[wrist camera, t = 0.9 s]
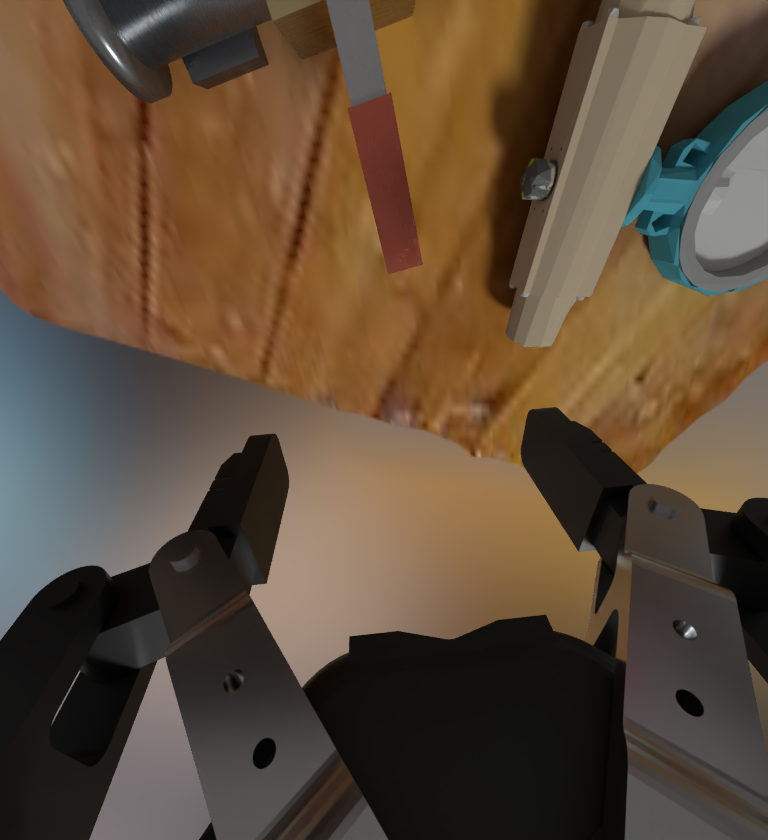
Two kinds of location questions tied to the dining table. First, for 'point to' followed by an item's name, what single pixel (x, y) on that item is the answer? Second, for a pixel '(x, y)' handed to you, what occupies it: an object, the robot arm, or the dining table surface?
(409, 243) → the valve lever
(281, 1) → the pipe valve
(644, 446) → the dining table surface
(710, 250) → the butterfly valve
